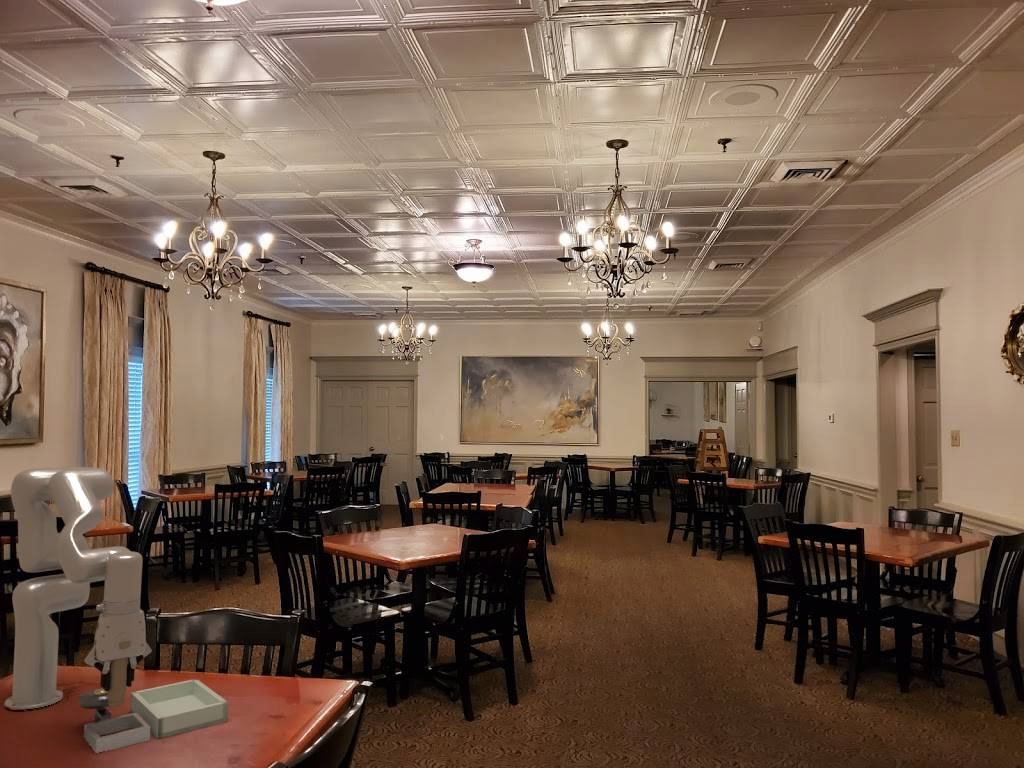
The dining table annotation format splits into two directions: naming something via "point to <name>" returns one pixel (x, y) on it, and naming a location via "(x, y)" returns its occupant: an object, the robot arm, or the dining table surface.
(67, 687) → the dining table surface
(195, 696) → the tray
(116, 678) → the handle
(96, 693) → the bracket
